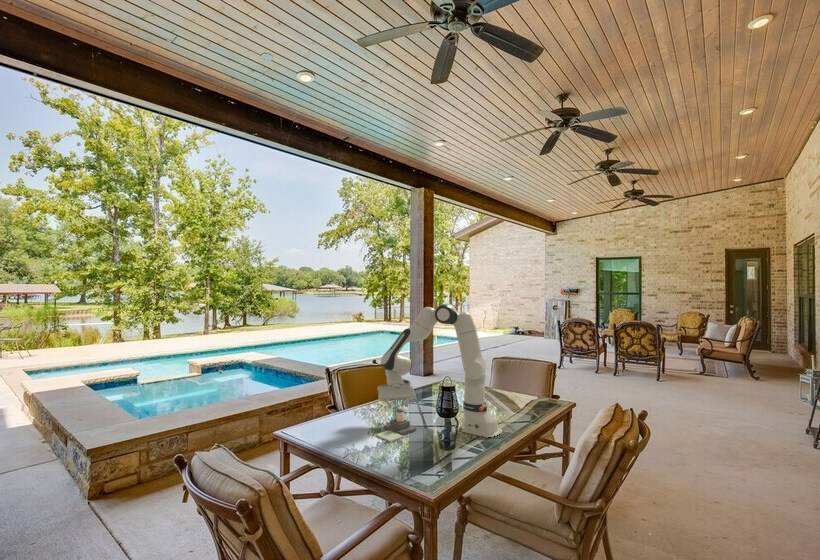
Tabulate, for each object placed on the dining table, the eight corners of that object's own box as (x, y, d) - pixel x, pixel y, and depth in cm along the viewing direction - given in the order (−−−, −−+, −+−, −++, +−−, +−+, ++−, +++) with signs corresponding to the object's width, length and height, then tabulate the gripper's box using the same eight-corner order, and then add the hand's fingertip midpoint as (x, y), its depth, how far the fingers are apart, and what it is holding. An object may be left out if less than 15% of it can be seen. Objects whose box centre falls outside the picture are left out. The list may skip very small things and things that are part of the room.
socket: (416, 430, 213) (416, 422, 213) (401, 435, 205) (401, 426, 205) (398, 423, 223) (398, 415, 223) (383, 428, 215) (383, 420, 215)
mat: (403, 437, 202) (403, 436, 202) (390, 442, 196) (390, 440, 196) (388, 431, 210) (389, 430, 210) (375, 436, 204) (375, 434, 204)
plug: (405, 426, 214) (406, 409, 214) (399, 428, 211) (400, 411, 211) (400, 424, 217) (400, 408, 217) (394, 426, 214) (394, 409, 214)
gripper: (377, 382, 224) (380, 404, 214) (413, 380, 229) (417, 402, 219) (376, 388, 228) (378, 410, 219) (411, 386, 233) (414, 408, 223)
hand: (398, 406), depth 219 cm, fingers open, 8 cm apart
